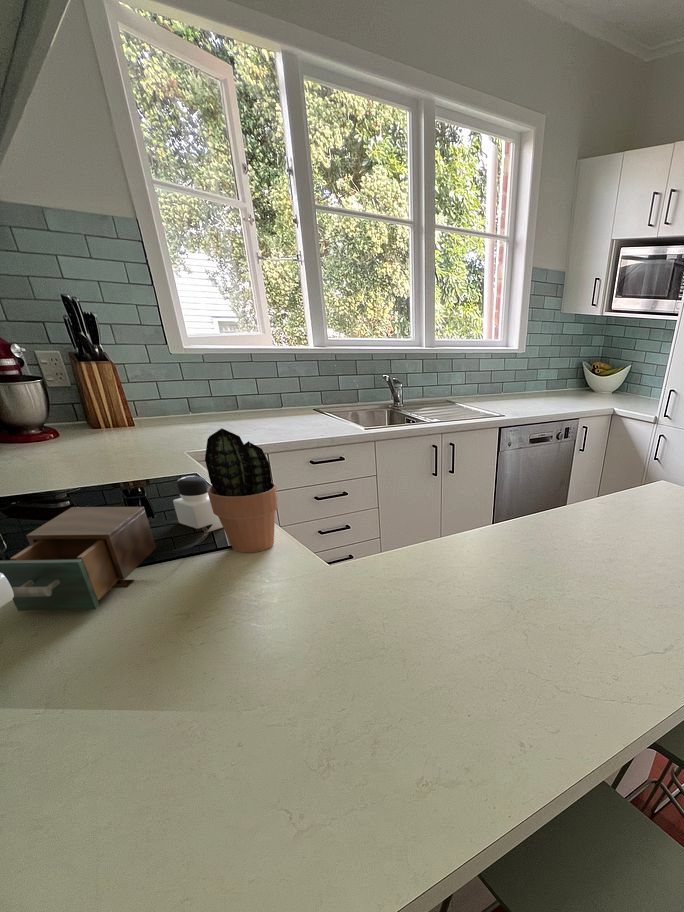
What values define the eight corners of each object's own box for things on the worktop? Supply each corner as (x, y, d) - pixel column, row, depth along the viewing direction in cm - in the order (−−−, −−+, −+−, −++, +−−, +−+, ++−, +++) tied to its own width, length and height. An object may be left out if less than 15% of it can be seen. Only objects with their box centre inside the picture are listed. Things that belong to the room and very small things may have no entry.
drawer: (82, 622, 90) (63, 574, 85) (1, 624, 88) (-24, 575, 84) (131, 573, 106) (117, 530, 101) (63, 574, 104) (45, 531, 100)
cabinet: (126, 587, 103) (108, 534, 97) (49, 589, 101) (25, 535, 95) (158, 555, 116) (144, 506, 110) (90, 556, 114) (71, 507, 109)
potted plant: (274, 558, 116) (252, 436, 103) (210, 556, 116) (180, 434, 103) (292, 535, 128) (274, 423, 115) (233, 533, 128) (209, 420, 114)
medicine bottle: (225, 527, 131) (214, 477, 125) (199, 535, 126) (186, 484, 119) (206, 521, 134) (194, 472, 128) (180, 529, 129) (166, 478, 122)
